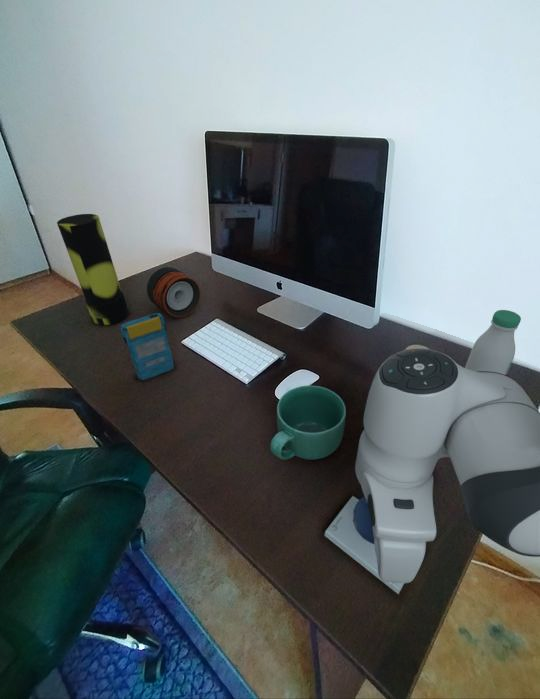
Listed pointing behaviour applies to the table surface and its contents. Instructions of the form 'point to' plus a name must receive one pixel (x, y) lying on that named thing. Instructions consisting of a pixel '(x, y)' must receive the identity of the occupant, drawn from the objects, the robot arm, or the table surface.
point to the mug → (308, 423)
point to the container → (94, 267)
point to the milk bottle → (495, 344)
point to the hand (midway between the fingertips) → (376, 523)
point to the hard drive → (355, 542)
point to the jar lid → (363, 520)
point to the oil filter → (173, 291)
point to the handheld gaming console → (148, 345)
